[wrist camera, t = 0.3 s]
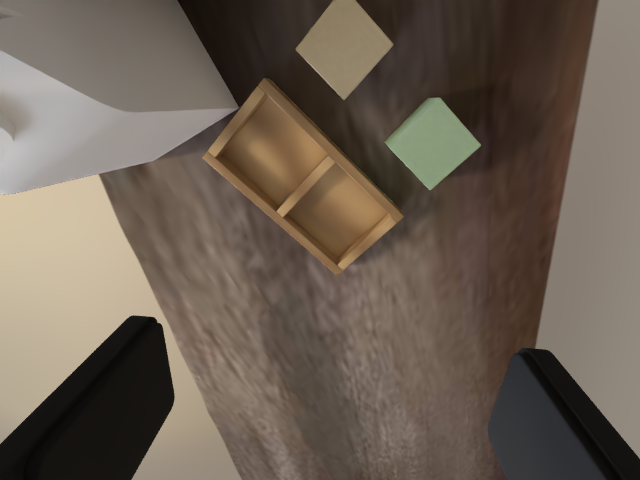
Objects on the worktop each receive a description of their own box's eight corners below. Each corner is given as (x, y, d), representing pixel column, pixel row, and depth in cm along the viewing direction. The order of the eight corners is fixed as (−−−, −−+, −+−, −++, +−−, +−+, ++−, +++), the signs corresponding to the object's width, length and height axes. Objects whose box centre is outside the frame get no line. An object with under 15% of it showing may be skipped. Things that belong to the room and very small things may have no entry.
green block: (428, 97, 33) (439, 97, 29) (465, 140, 34) (481, 145, 30) (383, 142, 35) (388, 147, 31) (420, 180, 36) (430, 190, 32)
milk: (173, -7, 31) (-390, -358, 7) (239, 108, 35) (7, 124, 11) (84, 61, 34) (-524, -30, 10) (154, 160, 38) (-175, 264, 14)
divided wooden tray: (269, 78, 33) (264, 77, 31) (400, 209, 38) (404, 216, 35) (211, 154, 37) (202, 158, 35) (337, 265, 41) (337, 275, 39)
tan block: (343, 1, 30) (343, -14, 26) (387, 51, 32) (394, 44, 28) (301, 55, 32) (295, 48, 28) (344, 100, 34) (344, 100, 30)
